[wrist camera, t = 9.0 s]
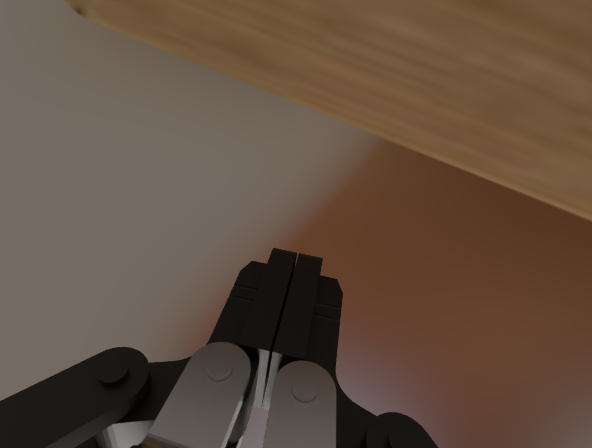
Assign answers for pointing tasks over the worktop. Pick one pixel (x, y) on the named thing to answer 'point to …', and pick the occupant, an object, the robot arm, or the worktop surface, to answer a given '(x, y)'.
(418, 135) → the worktop surface
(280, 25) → the worktop surface
